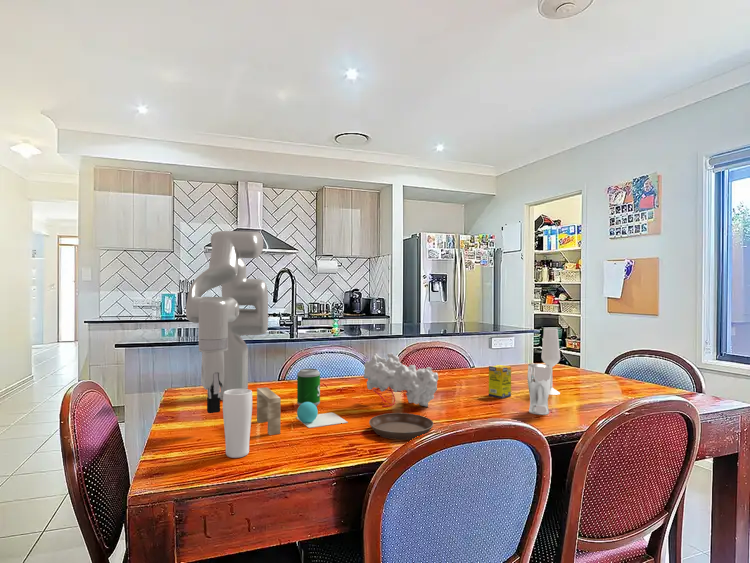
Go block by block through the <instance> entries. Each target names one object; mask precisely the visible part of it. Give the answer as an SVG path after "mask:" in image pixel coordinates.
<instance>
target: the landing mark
mask: <svg viewBox="0 0 750 563" xmlns="http://www.w3.org/2000/svg"><path fill="white" fill-rule="evenodd" d="M295 418H296V419H297V420H298V421H300V420H299V418H298V416H296V417H295ZM300 422H301V423H302V424H303V425H305V426H306V427H307V428H308V429H314V428H320V427H327V426H333V425H334V426H336V425H340V424H341V423H342V424H348V423H349V421H347V420H345V418H342V417H341V416H340V415H338V414H336V413H335V412H326V413H318V414H317V417H316V419H315V420H314V421H312V422H310V423H304V422H302V421H300ZM342 424H341V425H342Z"/></svg>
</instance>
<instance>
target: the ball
mask: <svg viewBox="0 0 750 563" xmlns="http://www.w3.org/2000/svg"><path fill="white" fill-rule="evenodd" d="M317 407H318V406H317ZM317 407H316V406H315V405H314V404H313V403H311V402H304V403H302V404H301V405H300V406H299V405H298V408H297V409H296V410H297V411H296V415H297V416H296V417H298V418H299V420H298V421H299V422H301V421H302V422H304V423H310V422H312V421H314V420H315V419H316V417H317V414H319V413H318V408H317ZM302 422H301V423H302Z"/></svg>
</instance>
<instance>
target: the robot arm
mask: <svg viewBox="0 0 750 563" xmlns="http://www.w3.org/2000/svg"><path fill="white" fill-rule="evenodd" d="M210 244H211V251H210V252H211V253H210V257H209V258H210V259H209V264H208V265H209V267H208V268H207V269H206V270H204V271H202V273H200V274H199V275H198V276H197V277H196V278H195V279H194V281H193V282H192V283H191V284H190V287H189V288H188V294H187V299H186V304H185V316H186V318H187V320H188V321H189V322H190V323H194V324H198V352H201V374H200V383H201V386H202V387H203V389H204V390H206V391H207V393H206V394H207V396H206V410H207V413H208V414H215V413H220V412H221V401H223V392H225V391H227V390H231V389H248V388H249V376H248V375H249V347H248V344H247V343H246V342H245V340H244V339H243V338H242V337H243V336H261V335H265V334H266V333H267V332H268V328H269V295H268V293H269V292H268V286H267V283H266V282H265V280H264V279H263V280H262V279H259V278H247V265H246V263H245V261H244V259H258V257H260V256H261V255H262V252H263V250H264V239H263V236H262V234H261V233H260V232H259V231H246V230H245V231H242V230H241V231H240V230H239V231H238V230H220V231H215V232H213V233H212V234H211V236H210ZM220 286H221V296H203V295H204V294H205V293H206V292H208V291H210V290H212V289H215V288H218V287H220ZM240 306H253V307H254V308H240Z"/></svg>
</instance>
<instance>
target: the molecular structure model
mask: <svg viewBox="0 0 750 563" xmlns="http://www.w3.org/2000/svg"><path fill="white" fill-rule="evenodd" d="M386 357H387V358H388V359H387V358H386ZM386 357H381V356H379V354H378V353H376V352H375V353H373V355H372V357H371V360H370V361H369V360H366V361H365V363H364V364H363V366H364V371H363V376H362V377H363V378H364V379H365V380H367V381H366V386H367V389H368V390H373V392H375V394H377V395H378V396H379V397H380V398H381V399H382V401H381V405H382V407H381V408H387V407H391V406H394V405H395V402H396V397H395V394H394V393H405V395H406V399H407V400H408V403H409V404H412V403H413V404H415V405H419V406H422V407H426V408H427V407H428V406H429V402H431V400H434V398H435V396H434V394H435V393H436V392H437V391H438V387H437V386H438V380H439V374H438V372H435V371H433V370H432V367H431V366H430V367H429V366H427V367H426V368H424V367H423V368H416V365H415V364H410V365H409V366H407V365H406V362H405V363H402V362H400V357H399V356H397V355H394V353H393V352H388V353H387V354H386ZM380 392H385V393H387V394H388V393H389V394H390V393H391V394H392V397H389V396H386V395H384V397H385V398H388V399H391V400H393V402H392V403H390V402H389V401H387V400H386V399H385V398H384V397H383V396H382V393H380ZM383 402H384V403H385V402H386V403H388V404H389V405H385V404H384V403H383Z"/></svg>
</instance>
